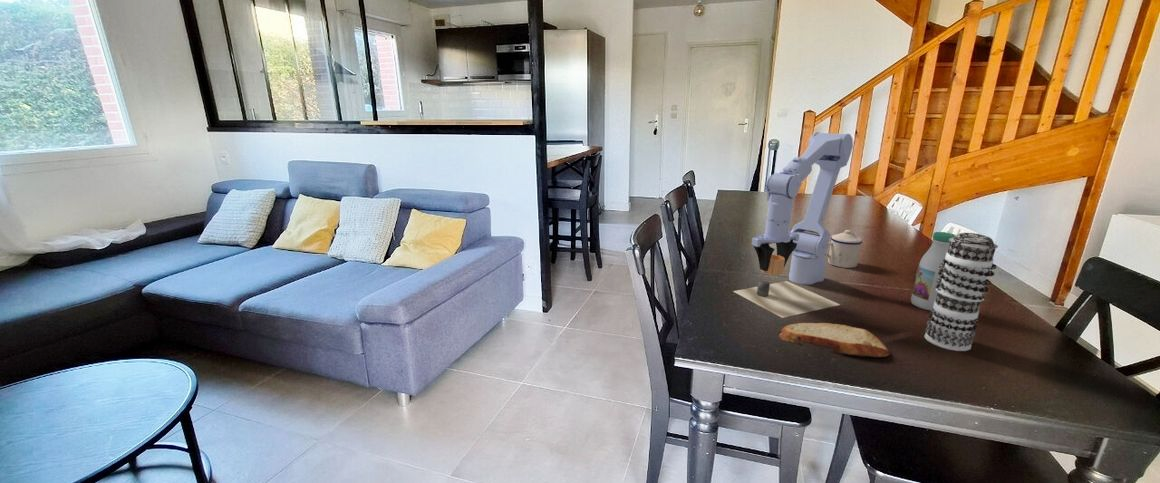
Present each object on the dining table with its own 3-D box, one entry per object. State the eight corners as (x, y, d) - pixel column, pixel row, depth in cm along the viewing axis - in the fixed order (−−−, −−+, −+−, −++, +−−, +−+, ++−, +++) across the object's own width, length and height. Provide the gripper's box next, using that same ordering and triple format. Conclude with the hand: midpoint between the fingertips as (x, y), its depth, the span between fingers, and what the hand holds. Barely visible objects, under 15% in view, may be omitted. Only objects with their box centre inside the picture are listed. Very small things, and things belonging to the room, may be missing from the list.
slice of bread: (771, 334, 108) (773, 320, 107) (826, 320, 115) (828, 307, 114) (840, 374, 92) (843, 358, 91) (898, 355, 99) (902, 340, 98)
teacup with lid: (850, 260, 157) (856, 227, 154) (862, 269, 149) (869, 234, 145) (813, 258, 159) (818, 226, 155) (824, 267, 150) (829, 233, 147)
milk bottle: (941, 302, 124) (959, 231, 118) (949, 314, 117) (968, 239, 111) (907, 298, 127) (923, 228, 121) (913, 308, 120) (930, 235, 114)
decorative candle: (977, 356, 98) (1009, 244, 91) (923, 344, 102) (950, 237, 95) (970, 338, 105) (999, 233, 98) (920, 328, 110) (945, 227, 103)
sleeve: (771, 266, 127) (773, 253, 126) (787, 273, 123) (789, 259, 121) (756, 269, 125) (758, 255, 124) (771, 276, 121) (773, 261, 119)
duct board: (786, 284, 137) (788, 270, 135) (839, 308, 121) (842, 292, 119) (732, 294, 129) (734, 279, 128) (781, 321, 113) (784, 304, 112)
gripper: (768, 226, 114) (762, 277, 117) (811, 220, 119) (803, 269, 123) (748, 219, 120) (742, 268, 124) (789, 214, 125) (783, 261, 129)
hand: (772, 268), depth 124 cm, fingers closed on sleeve, 5 cm apart
